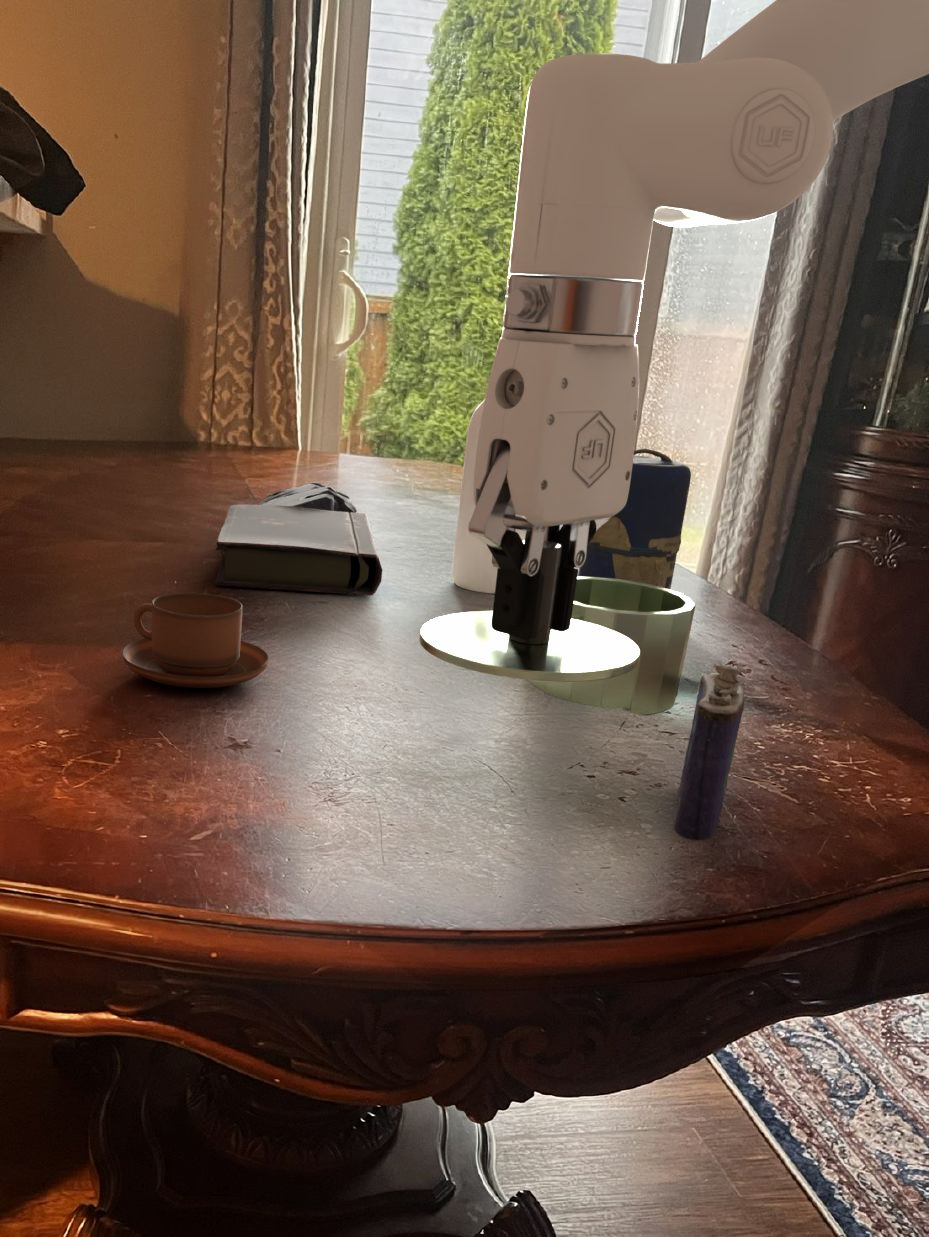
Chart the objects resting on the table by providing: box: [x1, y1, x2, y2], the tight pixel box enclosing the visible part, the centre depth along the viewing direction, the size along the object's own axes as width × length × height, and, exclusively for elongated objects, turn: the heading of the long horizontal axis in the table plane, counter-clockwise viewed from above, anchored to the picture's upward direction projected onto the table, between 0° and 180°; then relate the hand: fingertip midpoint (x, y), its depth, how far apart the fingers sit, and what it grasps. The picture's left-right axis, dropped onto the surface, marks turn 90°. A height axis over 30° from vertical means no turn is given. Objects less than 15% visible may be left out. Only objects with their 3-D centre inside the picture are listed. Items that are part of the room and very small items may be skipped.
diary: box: [214, 503, 383, 596], centre depth 136 cm, size 19×25×5 cm
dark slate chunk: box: [260, 482, 358, 513], centre depth 166 cm, size 15×22×5 cm
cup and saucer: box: [122, 592, 270, 689], centre depth 96 cm, size 12×12×6 cm
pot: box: [529, 576, 696, 716], centre depth 100 cm, size 13×18×8 cm
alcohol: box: [450, 307, 526, 595], centre depth 130 cm, size 9×9×30 cm
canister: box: [577, 448, 692, 590], centre depth 118 cm, size 10×10×18 cm
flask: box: [674, 662, 748, 842], centre depth 75 cm, size 9×3×11 cm, turn 162°
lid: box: [419, 541, 640, 682], centre depth 73 cm, size 14×14×7 cm
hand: (530, 628), depth 74 cm, fingers closed on lid, 2 cm apart
